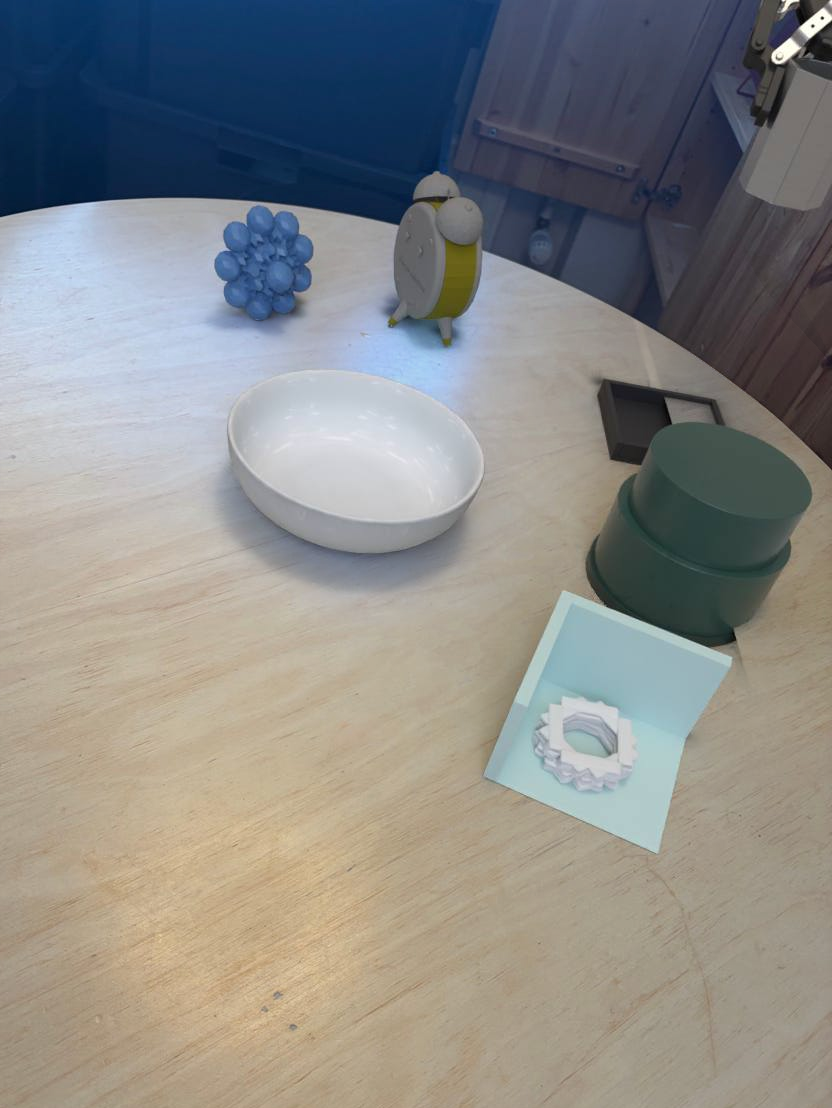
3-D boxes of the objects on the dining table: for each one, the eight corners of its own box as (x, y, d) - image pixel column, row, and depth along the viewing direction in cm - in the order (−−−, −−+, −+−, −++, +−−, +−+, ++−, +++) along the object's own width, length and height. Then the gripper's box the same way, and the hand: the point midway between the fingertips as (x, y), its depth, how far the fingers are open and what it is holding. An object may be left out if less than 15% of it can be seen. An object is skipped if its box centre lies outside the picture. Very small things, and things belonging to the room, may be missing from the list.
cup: (806, 186, 83) (861, 68, 77) (826, 215, 78) (887, 93, 72) (733, 171, 83) (783, 52, 76) (749, 200, 78) (804, 75, 72)
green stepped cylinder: (735, 546, 88) (799, 432, 80) (773, 660, 78) (851, 544, 69) (578, 517, 87) (625, 400, 79) (595, 629, 77) (651, 508, 69)
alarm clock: (463, 352, 106) (500, 212, 96) (406, 353, 104) (437, 210, 93) (423, 300, 113) (454, 165, 103) (369, 300, 111) (394, 162, 101)
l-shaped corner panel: (482, 776, 65) (513, 700, 59) (531, 664, 73) (563, 589, 68) (657, 854, 62) (706, 782, 57) (688, 729, 71) (732, 657, 66)
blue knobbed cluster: (231, 347, 99) (241, 229, 90) (199, 316, 102) (206, 199, 94) (327, 330, 104) (345, 217, 96) (294, 301, 108) (308, 190, 100)
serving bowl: (278, 610, 73) (289, 538, 68) (187, 449, 85) (191, 379, 80) (511, 564, 81) (535, 497, 76) (397, 424, 94) (412, 358, 89)
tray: (708, 415, 105) (715, 399, 103) (731, 481, 96) (740, 464, 95) (597, 394, 104) (603, 378, 103) (610, 459, 95) (617, 442, 94)
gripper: (806, -129, 73) (730, 79, 73) (1001, -81, 71) (924, 132, 71) (774, -53, 81) (706, 135, 81) (951, -8, 79) (881, 185, 79)
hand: (808, 133), depth 76 cm, fingers closed on cup, 7 cm apart
